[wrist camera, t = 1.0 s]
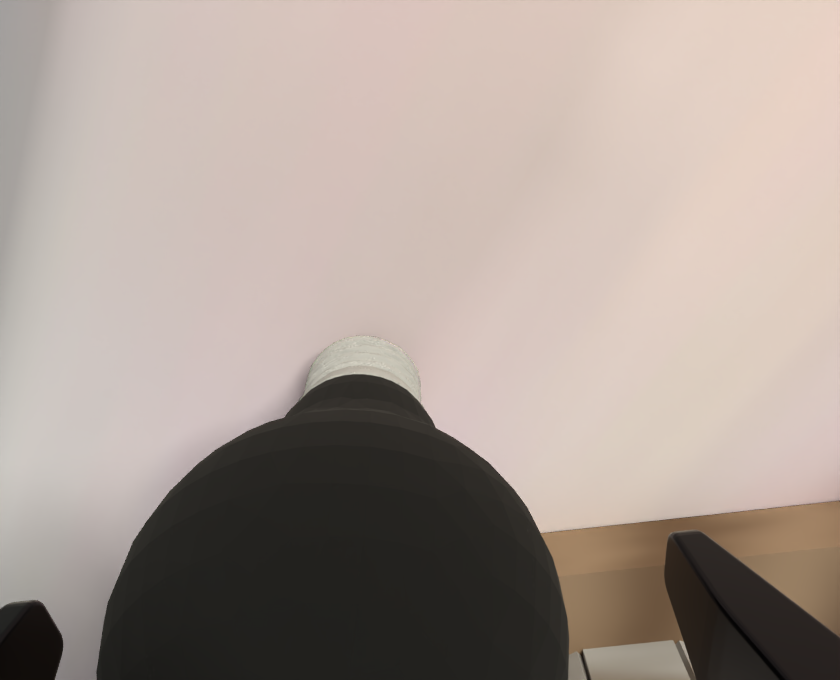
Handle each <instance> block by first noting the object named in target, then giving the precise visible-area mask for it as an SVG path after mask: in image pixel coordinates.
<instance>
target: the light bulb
mask: <svg viewBox="0 0 840 680" xmlns="http://www.w3.org/2000/svg"><path fill="white" fill-rule="evenodd" d="M420 387H421V384H420V378H419V374H418V370H417V368H416V366H415V365H414V363H413V361H412V360H411V358H410V357H409V356H408V355H407V354H406V353H405V352H404V351H403V350H402V349H401V348H400V347H398V346H396V345H394V344H392V343H390V342H388V341H386V340H383V339H381V338H379V337H372V336H354V337H348V338H344V339H342V340H340V341H337V342H335V343H333V344H331V345H330V346H329V347H327V348H326V349H325V350H324V351H323V352H322V353H321V354H320V355H319V356H318V357H317V359H316V360H315V362H314V363H313V365H312V366H311V368H310V372H309V375H308V378H307V383H306V386H305V392H304V395H303V396H302V397H301V398H300V400H299V402H298V403H297V404H296V405H295V406H294V407H293V408H292V409H291V410H290V411H289V412H288V413H287V414H286V416H285V418H282V419H278V420H274V421H271V422H268V423H266V424H263V425H261V426H259V427H256V428H254V429H251V430H249V431H247V432H245V433H244V434H242V435H240V436H238V437H237V438H235V439H233V440H232V441H230V442H228V443H227V444H225V445H223V446H221V447H220V448H218V449H216V450H215V451H214V452H212V453H211V454H210V455H209V456H207V457H206V458H205V459H204V460H202V461H201V462H200V463H198V464H197V465H196V466H195V467H194V468H193V469H192V470H191V471H190V472H189V473H188V474H187V475H186V476H185V477H184V478H183V479H182V480H181V481H180V482H179V483H178V484H177V485H176V486H175V487H174V488H173V489H172V490H170V492H169V493H168V494H167V495H166V497H165V498H164V499H163V501H162V502H161V503H160V505H159V506H158V507H157V509H156V510H155V511H154V513H153V514H152V515H151V517H150V518H149V519H148V520H147V522H146V523H145V525H144V526H143V528H142V529H141V531H140V532H139V534H138V535H137V537H136V538H135V540H134V541H133V544H132V546H131V549H130V551H129V553H128V556H127V558H126V560H125V563H124V565H123V568H122V570H121V572H120V575H119V577H118V580H117V582H116V584H115V587H114V589H113V592H112V594H111V597H110V599H109V601H108V605H107V610H106V615H105V620H104V625H103V632H102V639H101V646H100V652H99V659H98V666H97V680H568V668H569V630H568V619H567V614H566V609H565V604H564V600H563V595H562V591H561V586H560V582H559V577H558V574H557V570H556V567H555V564H554V560H553V557H552V555H551V553H550V551H549V549H548V547H547V545H546V543H545V541H544V539H543V537H542V536H541V534H540V532H539V530H538V528H537V526H536V524H535V522H534V520H533V518H532V516H531V514H530V512H529V510H528V508H527V507H526V505H525V504H524V503H523V501H522V500H521V498H520V497H519V496H518V494H517V493H516V492H515V490H514V489H513V488H512V487H511V486H510V485H509V484H508V483H507V482H506V481H505V480H504V478H503V477H502V476H501V475H500V474H499V473H498V472H497V471H496V470H495V469H494V468H493V467H492V466H491V465H490V464H489V463H488V462H487V461H486V460H484V459H483V458H482V457H480V456H479V455H478V454H476V453H475V452H474V451H472V450H471V449H470V448H468V447H467V446H465V445H464V444H462V443H461V442H459V441H458V440H456V439H455V438H453V437H451V436H449V435H448V434H446V433H444V432H442V431H440V430H438V429H436V428H435V426H434V423H433V421H432V419H431V418H430V416H429V415H428V414H427V412H426V411H425V409H424V407H423V405H422V404H421V392H420Z"/></svg>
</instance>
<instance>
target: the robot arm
mask: <svg viewBox="0 0 840 680" xmlns="http://www.w3.org/2000/svg"><path fill="white" fill-rule="evenodd" d="M664 580H665V585H666V589H667V593H668V596H669V599H670V602H671V605H672V608H673V611H674V614H675V617H676V620H677V623H678V626H679V629H680V632H681V635H682V638H683V641H684V644H685V647H686V650H687V653H688V656H689V659H690V662H691V665H692V668H693V671H694V674H695V677H696V680H840V637H839V636H838V635H837V634H835V633H834V632H833V631H831V630H830V629H829V628H828V627H826V626H825V625H824V624H822V623H821V622H820V621H818V620H817V619H816V618H814V617H813V616H812V615H811V614H809V613H808V612H807V611H805V610H804V609H803V608H801V607H800V606H799V605H798V604H796V603H795V602H794V601H792V600H791V599H790V598H788V597H787V596H786V595H784V594H783V593H782V592H781V591H779V590H778V589H777V588H775V587H774V586H773V585H771V584H770V583H769V582H768V581H766V580H765V579H764V578H762V577H761V576H760V575H758V574H757V573H756V572H754V571H753V570H752V569H751V568H749V567H748V566H747V565H745V564H744V563H743V562H741V561H740V560H739V559H738V558H736V557H735V556H734V555H732V554H731V553H730V552H728V551H727V550H726V549H724V548H723V547H722V546H721V545H719V544H718V543H717V542H715V541H714V540H713V539H711V538H710V537H709V536H708V535H706V534H705V533H703V532H702V531H699V530H685V531H676V532H672V533H670V534H669V536H668V539H667V547H666V557H665V567H664ZM62 652H63V639H62V635H61V633H60V631H59V630H58V628H57V626H56V624H55V623H54V621H53V619H52V618H51V616H50V614H49V612H48V611H47V609H46V607H45V606H44V604H43V603H41V602H40V601H38V600H29V601H20V602H13V603H9V604H7V605H5V606H4V607H2V608H1V609H0V680H55V677H56V674H57V670H58V667H59V663H60V660H61V656H62Z"/></svg>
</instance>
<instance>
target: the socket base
mask: <svg viewBox="0 0 840 680" xmlns="http://www.w3.org/2000/svg"><path fill="white" fill-rule="evenodd" d="M685 530H699V531H702V532H703V533H705V534H706V535H708V536H709V537H710V538H711V539H713V540H714V541H715V542H717V543H718V544H719V545H721V546H722V547H723V548H724V549H726V550H727V551H728V552H730V553H731V554H732V555H734V556H735V557H736V558H738V559H739V560H740V561H741V562H743V563H744V564H745V565H747V566H748V567H749V568H751V569H752V570H753V571H754V572H756V573H757V574H758V575H760V576H761V577H762V578H764V579H765V580H766V581H768V582H769V583H770V584H771V585H773V586H774V587H775V588H777V589H778V590H779V591H781V592H782V593H783V594H784V595H786V596H787V597H788V598H790V599H791V600H792V601H794V602H795V603H796V604H798V605H799V606H800V607H801V608H803V609H804V610H805V611H807V612H808V613H809V614H811V615H812V616H813V617H814V618H816V619H817V620H818V621H820V622H821V623H822V624H824V625H825V626H826V627H828V628H829V629H830V630H831V631H833V632H834V633H835V634H837V635H838V636H839V637H840V501H835V502H826V503H817V504H807V505H798V506H789V507H780V508H771V509H762V510H752V511H743V512H734V513H725V514H716V515H706V516H697V517H688V518H679V519H670V520H661V521H651V522H642V523H633V524H624V525H615V526H605V527H596V528H587V529H578V530H569V531H560V532H550V533H541V536H542V537H543V539H544V541H545V543H546V545H547V547H548V549H549V551H550V553H551V555H552V557H553V560H554V564H555V567H556V570H557V574H558V577H559V582H560V586H561V591H562V595H563V600H564V604H565V609H566V614H567V619H568V630H569V668H568V680H696V677H695V674H694V671H693V668H692V665H691V662H690V659H689V656H688V653H687V650H686V647H685V644H684V641H683V638H682V635H681V632H680V629H679V626H678V623H677V620H676V617H675V614H674V611H673V608H672V605H671V602H670V599H669V596H668V593H667V589H666V585H665V580H664V567H665V557H666V547H667V539H668V536H669V534H670V533H672V532H676V531H685Z"/></svg>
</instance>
